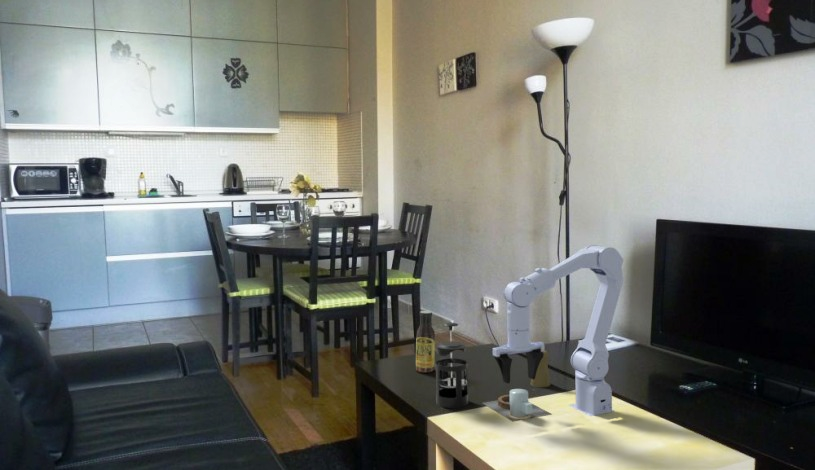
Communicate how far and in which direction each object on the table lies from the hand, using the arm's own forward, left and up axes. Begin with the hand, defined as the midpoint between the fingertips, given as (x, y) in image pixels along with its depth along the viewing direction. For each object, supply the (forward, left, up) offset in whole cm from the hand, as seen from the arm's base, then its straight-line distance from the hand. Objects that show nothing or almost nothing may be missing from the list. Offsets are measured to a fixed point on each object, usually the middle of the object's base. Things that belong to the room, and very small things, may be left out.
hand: (519, 380), depth 166 cm
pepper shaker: (+20, -20, -10) cm, 30 cm away
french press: (+17, +11, -10) cm, 23 cm away
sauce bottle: (+51, +4, -10) cm, 52 cm away
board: (+5, -2, -10) cm, 11 cm away
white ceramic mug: (-1, 0, -9) cm, 9 cm away
